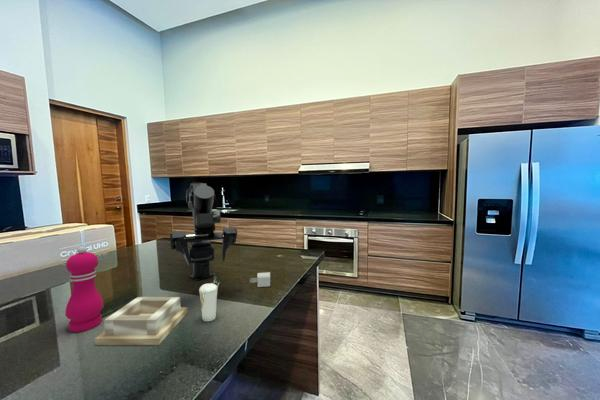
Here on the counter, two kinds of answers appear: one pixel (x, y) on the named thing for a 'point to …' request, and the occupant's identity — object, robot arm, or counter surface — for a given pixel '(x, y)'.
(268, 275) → the usb wall charger
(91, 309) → the pepper mill
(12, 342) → the counter surface
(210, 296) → the milkshake
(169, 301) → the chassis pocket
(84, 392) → the counter surface
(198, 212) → the robot arm
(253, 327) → the counter surface
